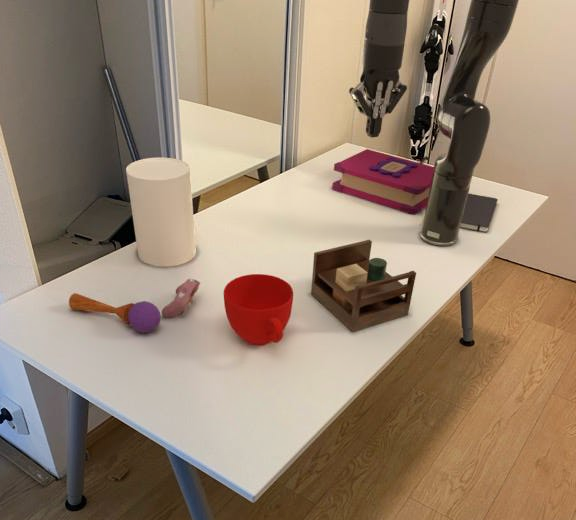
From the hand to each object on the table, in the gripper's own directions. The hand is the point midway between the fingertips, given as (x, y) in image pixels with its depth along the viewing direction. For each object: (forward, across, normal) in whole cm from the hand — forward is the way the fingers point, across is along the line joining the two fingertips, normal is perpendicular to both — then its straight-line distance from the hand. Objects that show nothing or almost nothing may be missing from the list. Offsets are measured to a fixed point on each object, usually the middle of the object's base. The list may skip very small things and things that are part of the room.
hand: (372, 136), depth 120 cm
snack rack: (+29, -10, -15) cm, 34 cm away
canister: (+29, -38, +24) cm, 54 cm away
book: (+29, +34, +32) cm, 55 cm away
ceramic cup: (+29, -35, -18) cm, 49 cm away
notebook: (+29, +45, +10) cm, 55 cm away
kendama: (+29, -57, +2) cm, 64 cm away
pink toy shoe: (+29, -44, 0) cm, 53 cm away
